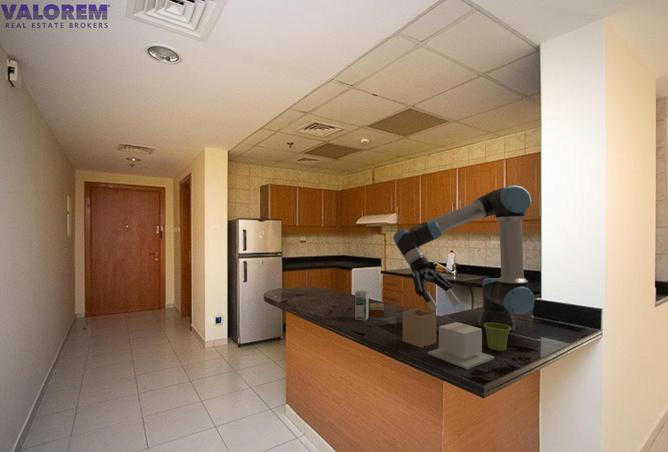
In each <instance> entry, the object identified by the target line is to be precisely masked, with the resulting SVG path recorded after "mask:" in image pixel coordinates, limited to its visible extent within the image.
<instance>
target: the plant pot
mask: <svg viewBox="0 0 668 452" xmlns="http://www.w3.org/2000/svg"><path fill="white" fill-rule="evenodd" d="M484 326H485V328H484V329H485V333H486V339H487V341H486V342H487V347H488V348H489V349H490V350H495V351H497V352H504V351H506V350H507V345H508V338H509V334H510V332H511V331H510V330H511V327H509V326H507V325H504V324H499V323H485V324H484Z"/></svg>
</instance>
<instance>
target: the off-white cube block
mask: <svg viewBox="0 0 668 452" xmlns="http://www.w3.org/2000/svg"><path fill="white" fill-rule="evenodd" d="M438 349H442V350H444V353H445V354H448V355H451V356H454V357H456V358H459V359H462V360H465V359H468V358H470V357H473V356H476V353H479V352H482V351H483V328H482V327H480V328H479V327H476V326H473V325H470V324H467V323H466V324H465V323H461V322H457V321H455V322H451V323H447V324H444V325H440V326H438ZM482 353H483V352H482Z"/></svg>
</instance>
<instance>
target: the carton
mask: <svg viewBox="0 0 668 452" xmlns="http://www.w3.org/2000/svg"><path fill="white" fill-rule="evenodd" d="M384 306H385V304H384V303H383V302H382V303H379V302H378V303H377V302H369V304H368V318H369V317H370V318H385V307H384Z"/></svg>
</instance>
